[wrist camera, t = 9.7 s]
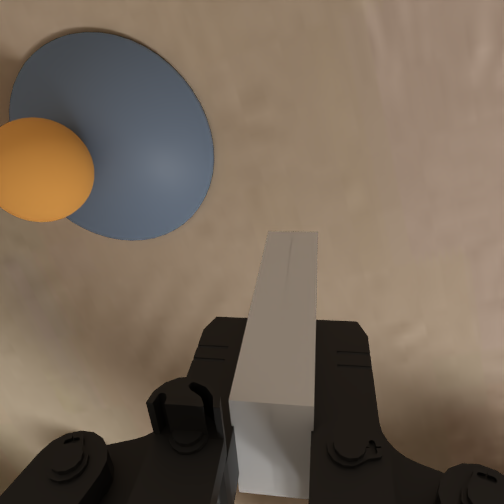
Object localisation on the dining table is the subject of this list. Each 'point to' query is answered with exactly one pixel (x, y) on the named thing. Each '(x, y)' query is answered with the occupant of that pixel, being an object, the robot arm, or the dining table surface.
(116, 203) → the disc
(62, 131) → the ball
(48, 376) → the dining table surface
